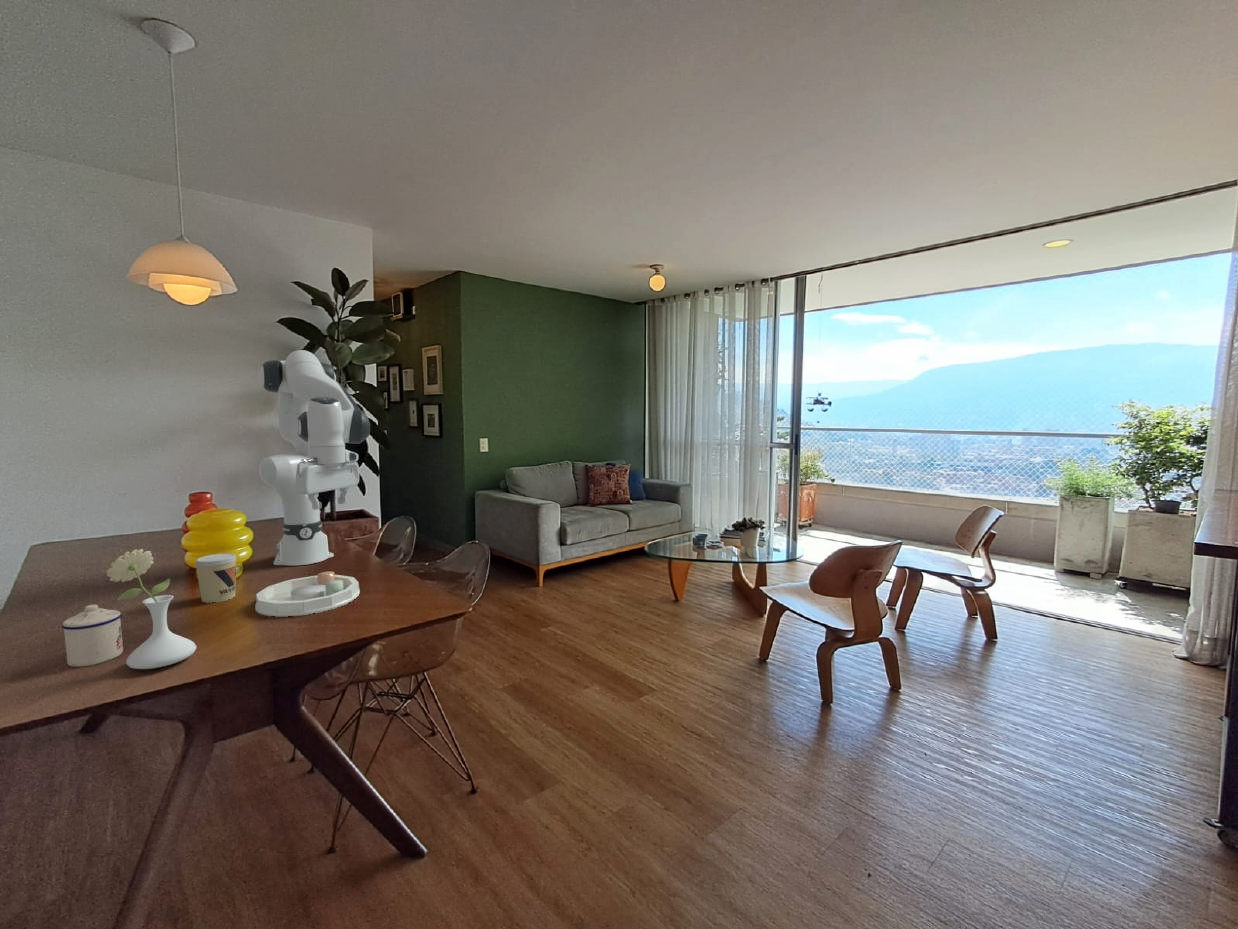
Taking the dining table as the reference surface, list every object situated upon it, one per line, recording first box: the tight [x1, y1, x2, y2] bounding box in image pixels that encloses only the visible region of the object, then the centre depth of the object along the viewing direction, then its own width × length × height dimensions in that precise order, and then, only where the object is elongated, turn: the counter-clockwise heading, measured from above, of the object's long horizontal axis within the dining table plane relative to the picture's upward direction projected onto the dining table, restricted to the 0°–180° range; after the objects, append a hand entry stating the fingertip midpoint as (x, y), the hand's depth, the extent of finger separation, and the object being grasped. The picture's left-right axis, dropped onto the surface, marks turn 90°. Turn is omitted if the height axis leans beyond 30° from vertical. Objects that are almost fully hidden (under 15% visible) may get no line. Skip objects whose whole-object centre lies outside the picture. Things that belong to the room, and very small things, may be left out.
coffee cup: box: [194, 553, 237, 604], centre depth 152 cm, size 9×9×12 cm
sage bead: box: [325, 580, 343, 596], centre depth 150 cm, size 4×4×4 cm
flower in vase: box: [106, 548, 197, 670], centre depth 112 cm, size 13×11×25 cm
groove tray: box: [254, 574, 361, 618], centre depth 151 cm, size 26×26×4 cm
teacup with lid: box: [61, 604, 124, 668], centre depth 115 cm, size 12×9×12 cm
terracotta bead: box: [317, 570, 336, 585], centre depth 159 cm, size 4×4×4 cm
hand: (330, 506), depth 148 cm, fingers open, 8 cm apart
